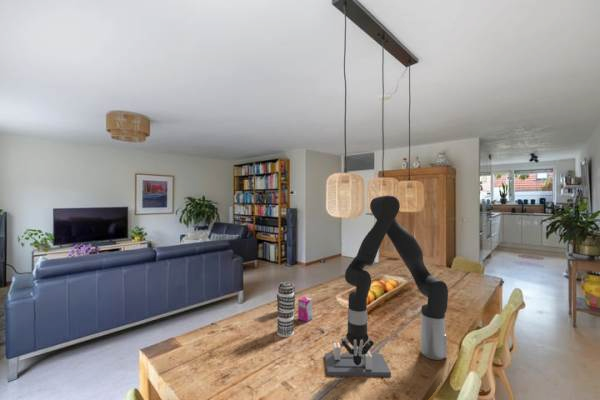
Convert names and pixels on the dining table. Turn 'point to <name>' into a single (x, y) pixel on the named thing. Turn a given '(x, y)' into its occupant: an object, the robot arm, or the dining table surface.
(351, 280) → the robot arm
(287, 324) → the decorative candle
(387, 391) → the dining table surface
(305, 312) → the supplement box
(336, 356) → the white fader
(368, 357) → the grey fader
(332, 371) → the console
